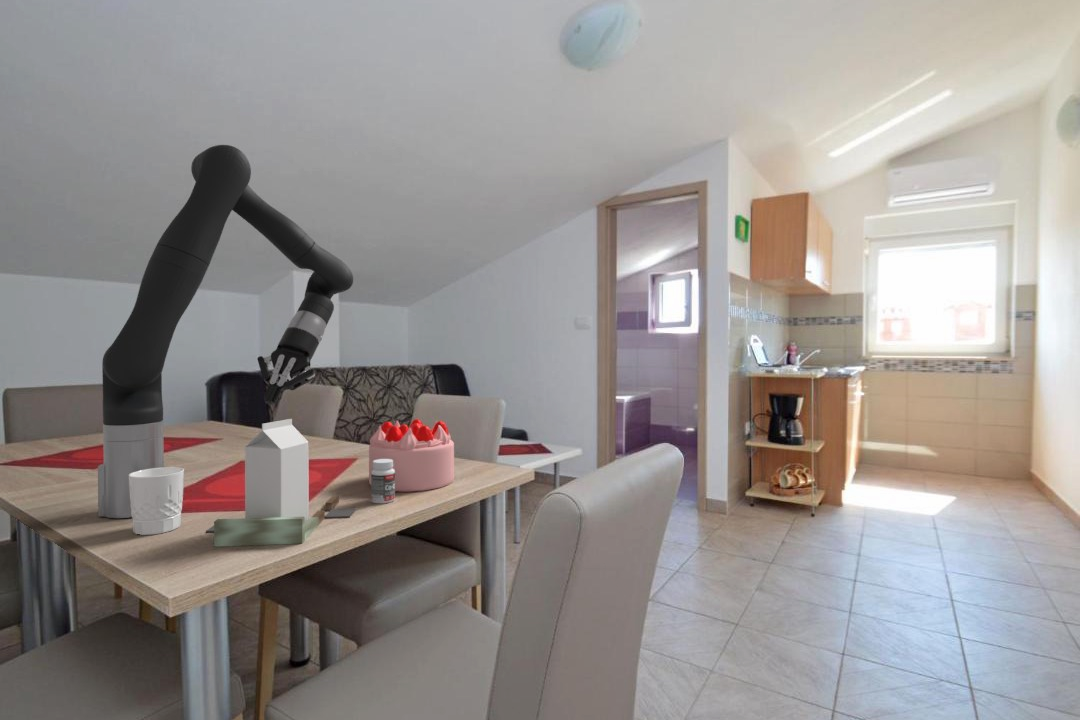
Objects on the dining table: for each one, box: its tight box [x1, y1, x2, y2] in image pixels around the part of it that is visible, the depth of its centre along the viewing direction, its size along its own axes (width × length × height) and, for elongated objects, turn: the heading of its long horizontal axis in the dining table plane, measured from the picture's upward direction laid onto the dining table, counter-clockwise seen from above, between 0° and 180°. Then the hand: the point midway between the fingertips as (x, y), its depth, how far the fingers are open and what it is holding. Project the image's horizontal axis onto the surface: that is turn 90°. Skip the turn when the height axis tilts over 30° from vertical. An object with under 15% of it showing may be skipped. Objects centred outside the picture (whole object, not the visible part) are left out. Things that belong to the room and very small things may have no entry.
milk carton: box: [244, 418, 310, 523], centre depth 93 cm, size 7×7×19 cm
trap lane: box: [213, 494, 340, 547], centre depth 98 cm, size 13×24×4 cm, turn 7°
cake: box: [368, 418, 455, 493], centre depth 129 cm, size 20×20×14 cm
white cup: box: [129, 466, 185, 536], centre depth 94 cm, size 8×8×10 cm
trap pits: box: [205, 507, 356, 534], centre depth 99 cm, size 25×6×1 cm, turn 115°
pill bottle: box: [370, 459, 396, 504], centre depth 112 cm, size 5×5×8 cm
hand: (268, 403), depth 114 cm, fingers closed
